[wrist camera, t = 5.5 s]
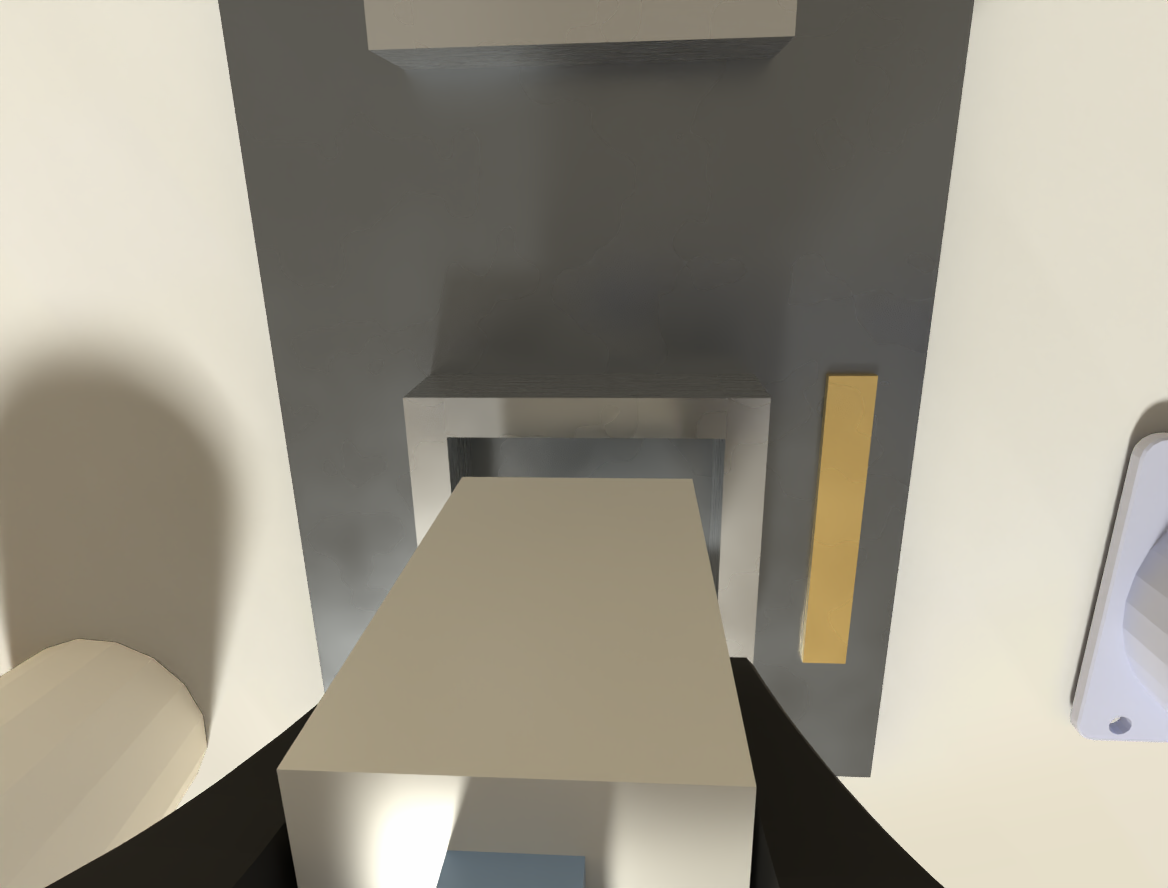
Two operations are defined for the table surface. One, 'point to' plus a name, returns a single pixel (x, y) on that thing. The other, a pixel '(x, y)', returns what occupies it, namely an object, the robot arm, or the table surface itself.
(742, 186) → the panel
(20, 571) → the table surface
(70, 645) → the white cylinder
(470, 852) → the plug
